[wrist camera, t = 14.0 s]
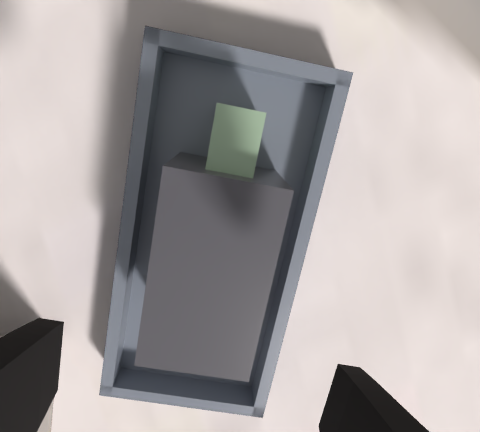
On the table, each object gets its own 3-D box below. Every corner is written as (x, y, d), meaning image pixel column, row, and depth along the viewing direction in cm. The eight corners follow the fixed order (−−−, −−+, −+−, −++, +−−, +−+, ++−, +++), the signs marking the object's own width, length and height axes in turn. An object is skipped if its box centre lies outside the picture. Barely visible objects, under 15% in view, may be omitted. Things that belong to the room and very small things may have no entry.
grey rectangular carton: (188, 99, 17) (173, 92, 12) (286, 119, 17) (310, 120, 12) (157, 303, 19) (134, 365, 14) (242, 316, 20) (248, 381, 15)
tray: (110, 369, 21) (99, 395, 19) (154, 36, 16) (145, 25, 14) (259, 390, 22) (262, 417, 20) (339, 77, 17) (353, 72, 15)
